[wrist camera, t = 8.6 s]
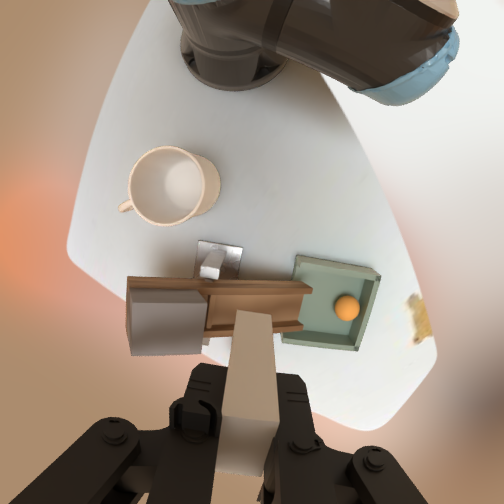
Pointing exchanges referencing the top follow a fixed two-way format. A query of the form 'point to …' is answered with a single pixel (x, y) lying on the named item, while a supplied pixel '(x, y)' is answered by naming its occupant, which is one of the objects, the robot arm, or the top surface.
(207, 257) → the stand
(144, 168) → the mug
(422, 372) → the top surface
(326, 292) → the tray
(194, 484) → the robot arm
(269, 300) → the lever
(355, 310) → the ball
